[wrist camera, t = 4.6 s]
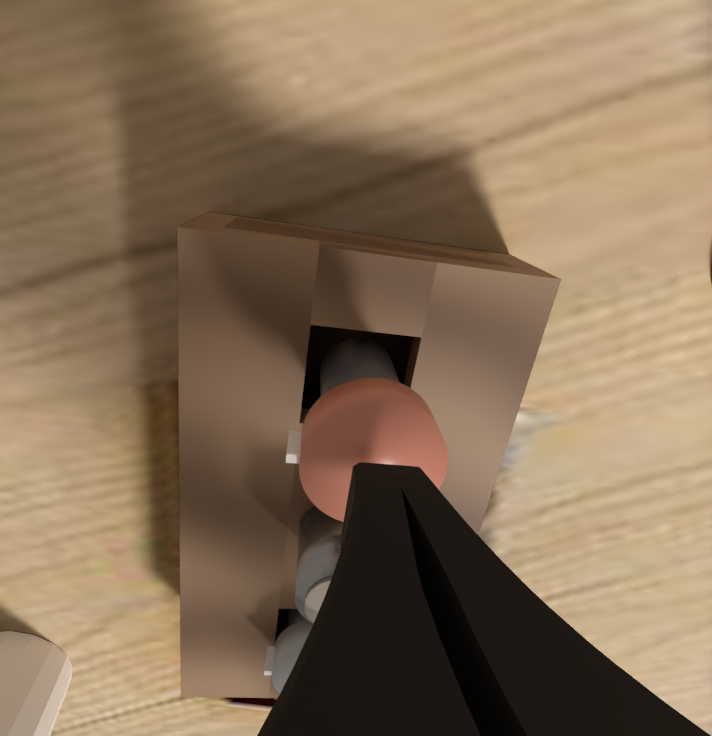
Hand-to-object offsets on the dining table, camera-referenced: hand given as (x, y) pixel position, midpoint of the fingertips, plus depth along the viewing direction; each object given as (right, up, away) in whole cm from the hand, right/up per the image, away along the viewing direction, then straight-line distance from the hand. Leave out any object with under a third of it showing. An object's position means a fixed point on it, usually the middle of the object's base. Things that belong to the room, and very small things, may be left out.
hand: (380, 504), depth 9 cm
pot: (-1, -3, +8) cm, 8 cm away
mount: (-2, -1, +11) cm, 11 cm away
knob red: (-1, +3, +6) cm, 6 cm away
